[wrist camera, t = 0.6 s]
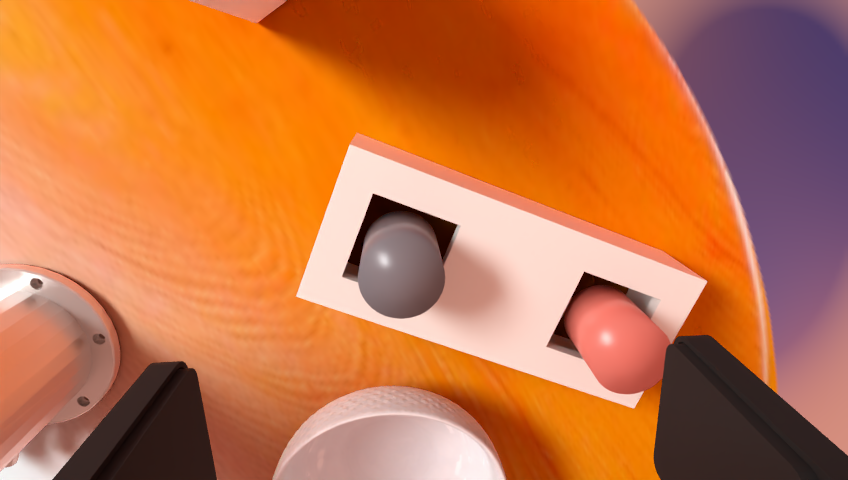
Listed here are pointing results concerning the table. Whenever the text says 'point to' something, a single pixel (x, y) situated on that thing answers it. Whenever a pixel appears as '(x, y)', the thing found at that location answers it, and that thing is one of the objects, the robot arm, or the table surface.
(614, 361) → the red plunger
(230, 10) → the milk carton
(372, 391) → the cereal bowl
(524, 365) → the box
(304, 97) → the table surface
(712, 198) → the table surface
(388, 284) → the grey rounded cylinder
